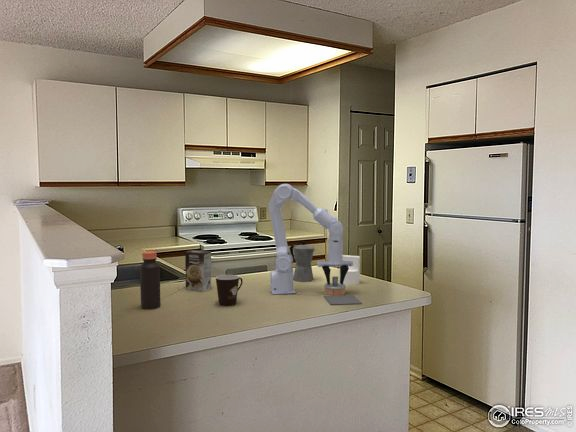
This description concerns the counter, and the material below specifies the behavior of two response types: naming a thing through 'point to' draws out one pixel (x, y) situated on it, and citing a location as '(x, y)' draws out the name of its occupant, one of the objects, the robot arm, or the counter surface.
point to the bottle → (150, 281)
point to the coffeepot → (302, 262)
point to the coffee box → (198, 270)
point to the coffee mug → (227, 289)
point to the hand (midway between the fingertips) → (335, 284)
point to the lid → (335, 284)
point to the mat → (342, 300)
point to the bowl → (335, 291)
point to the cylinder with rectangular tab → (352, 270)
